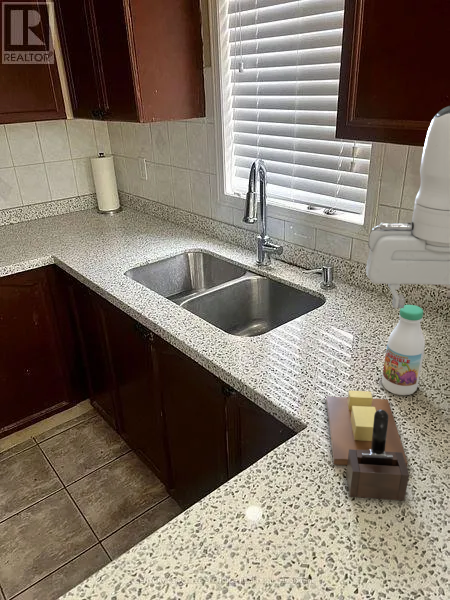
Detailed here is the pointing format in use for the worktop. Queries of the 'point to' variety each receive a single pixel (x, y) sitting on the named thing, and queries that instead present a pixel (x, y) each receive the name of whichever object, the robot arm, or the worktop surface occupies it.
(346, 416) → the board
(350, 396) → the butter slice
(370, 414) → the butter block
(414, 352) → the milk bottle
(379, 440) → the knife
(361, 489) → the knife block
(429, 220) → the robot arm
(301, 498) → the worktop surface
